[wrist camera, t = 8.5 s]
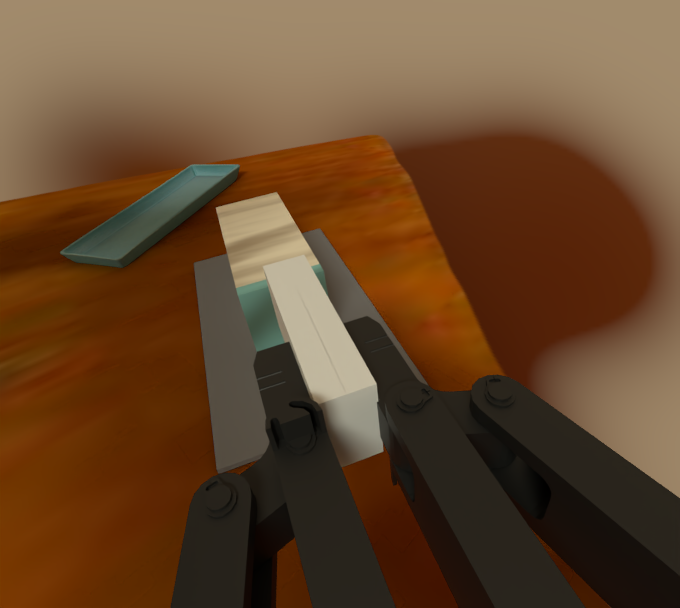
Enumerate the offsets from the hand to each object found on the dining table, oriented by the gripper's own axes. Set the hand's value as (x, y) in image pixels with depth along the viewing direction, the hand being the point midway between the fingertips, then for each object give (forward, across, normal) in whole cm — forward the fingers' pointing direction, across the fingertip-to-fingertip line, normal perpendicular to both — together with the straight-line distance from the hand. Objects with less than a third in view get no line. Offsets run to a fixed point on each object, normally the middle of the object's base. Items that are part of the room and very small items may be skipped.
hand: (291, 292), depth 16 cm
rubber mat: (+17, +1, -14) cm, 21 cm away
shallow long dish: (+46, -9, -15) cm, 49 cm away
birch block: (+12, +1, -10) cm, 15 cm away
